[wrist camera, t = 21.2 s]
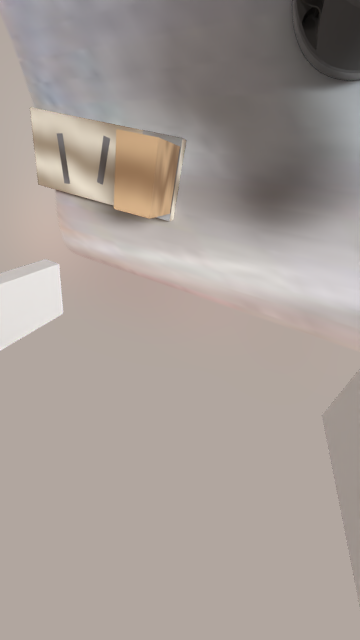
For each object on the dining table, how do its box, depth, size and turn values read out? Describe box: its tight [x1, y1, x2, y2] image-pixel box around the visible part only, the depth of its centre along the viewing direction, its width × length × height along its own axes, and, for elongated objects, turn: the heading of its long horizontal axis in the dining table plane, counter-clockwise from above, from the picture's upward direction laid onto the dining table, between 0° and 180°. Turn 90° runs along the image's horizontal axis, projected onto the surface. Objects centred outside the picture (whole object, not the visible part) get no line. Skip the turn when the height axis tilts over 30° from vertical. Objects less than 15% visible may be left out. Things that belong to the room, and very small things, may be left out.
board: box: [30, 107, 186, 221], centre depth 36 cm, size 10×24×2 cm, turn 78°
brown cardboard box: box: [114, 129, 181, 219], centre depth 30 cm, size 8×5×7 cm, turn 169°
